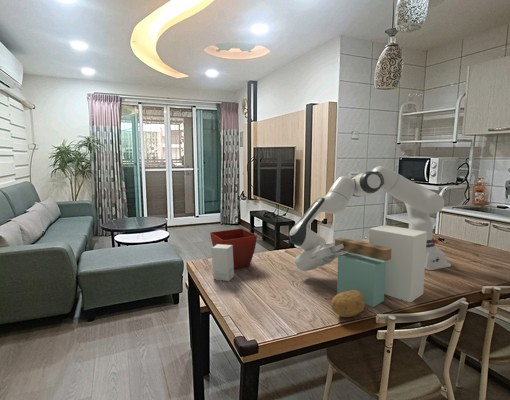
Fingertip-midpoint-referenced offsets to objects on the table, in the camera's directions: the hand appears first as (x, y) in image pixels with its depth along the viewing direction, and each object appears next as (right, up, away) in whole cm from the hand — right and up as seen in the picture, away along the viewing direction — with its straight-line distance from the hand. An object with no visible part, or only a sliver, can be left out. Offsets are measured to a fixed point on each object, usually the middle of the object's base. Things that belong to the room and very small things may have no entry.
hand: (347, 244), depth 129 cm
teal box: (+4, -21, -2) cm, 21 cm away
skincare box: (-53, -19, +19) cm, 59 cm away
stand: (+21, -20, +3) cm, 29 cm away
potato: (-5, -23, -17) cm, 29 cm away
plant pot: (-49, -16, +38) cm, 64 cm away
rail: (+4, -3, -4) cm, 7 cm away
